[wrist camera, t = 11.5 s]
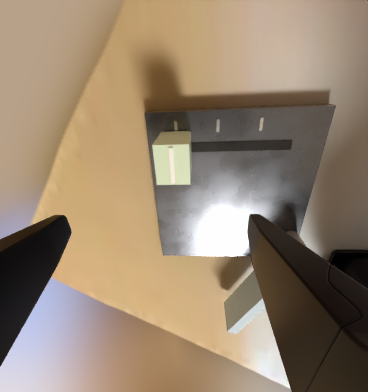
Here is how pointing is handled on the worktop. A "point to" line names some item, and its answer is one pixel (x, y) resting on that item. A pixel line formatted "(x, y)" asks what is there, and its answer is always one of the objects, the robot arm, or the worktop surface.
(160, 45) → the worktop surface
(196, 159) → the console
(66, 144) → the worktop surface
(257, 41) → the worktop surface
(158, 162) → the fader knob
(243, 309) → the door
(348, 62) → the worktop surface
